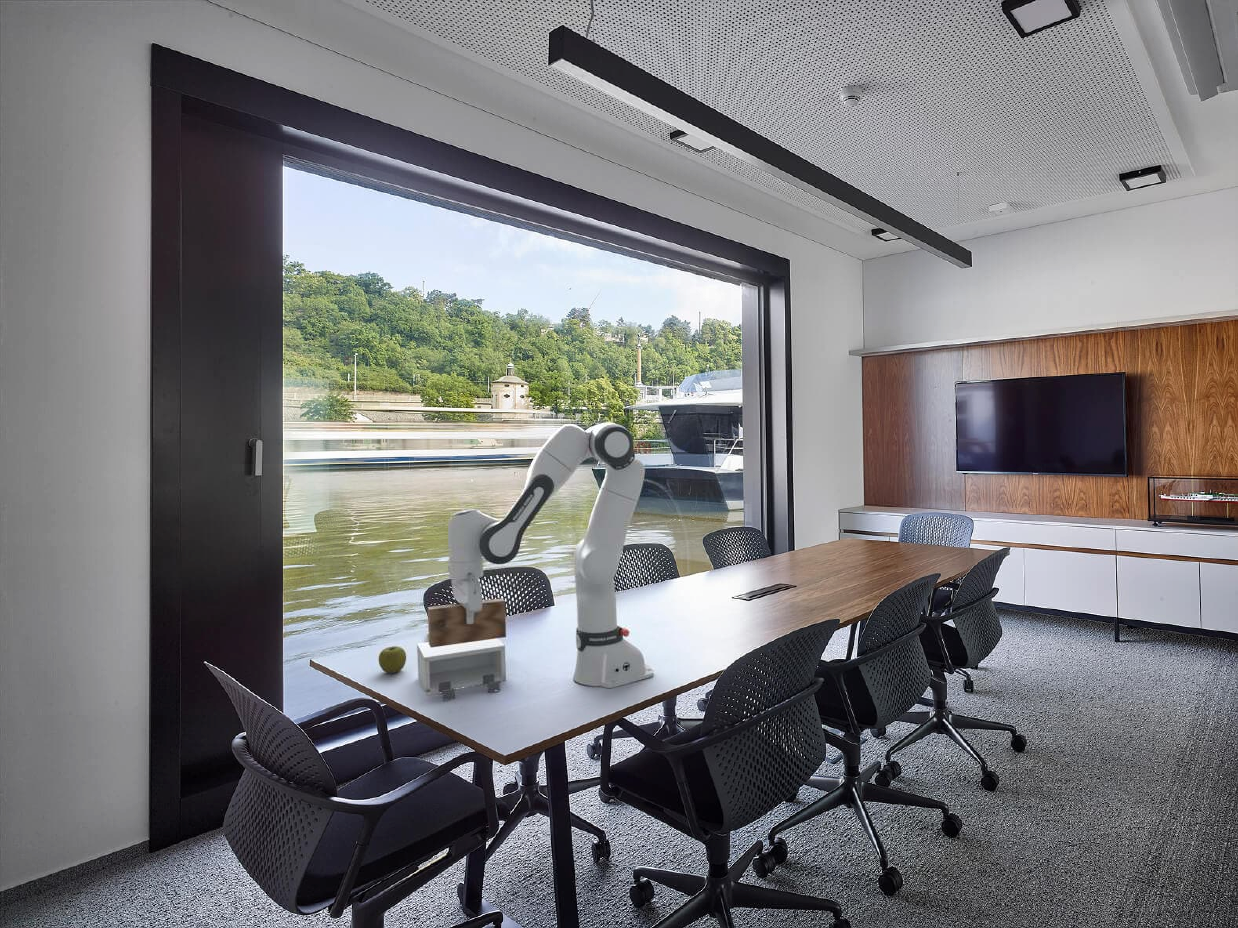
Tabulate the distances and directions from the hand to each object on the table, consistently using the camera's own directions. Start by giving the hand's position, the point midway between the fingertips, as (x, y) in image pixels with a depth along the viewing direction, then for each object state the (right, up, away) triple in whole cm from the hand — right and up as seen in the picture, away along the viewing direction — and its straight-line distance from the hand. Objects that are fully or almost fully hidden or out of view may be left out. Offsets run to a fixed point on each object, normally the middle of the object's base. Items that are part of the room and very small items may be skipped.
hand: (467, 621), depth 189 cm
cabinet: (-3, -19, +8) cm, 21 cm away
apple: (-26, -19, +19) cm, 38 cm away
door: (0, -5, 0) cm, 5 cm away
